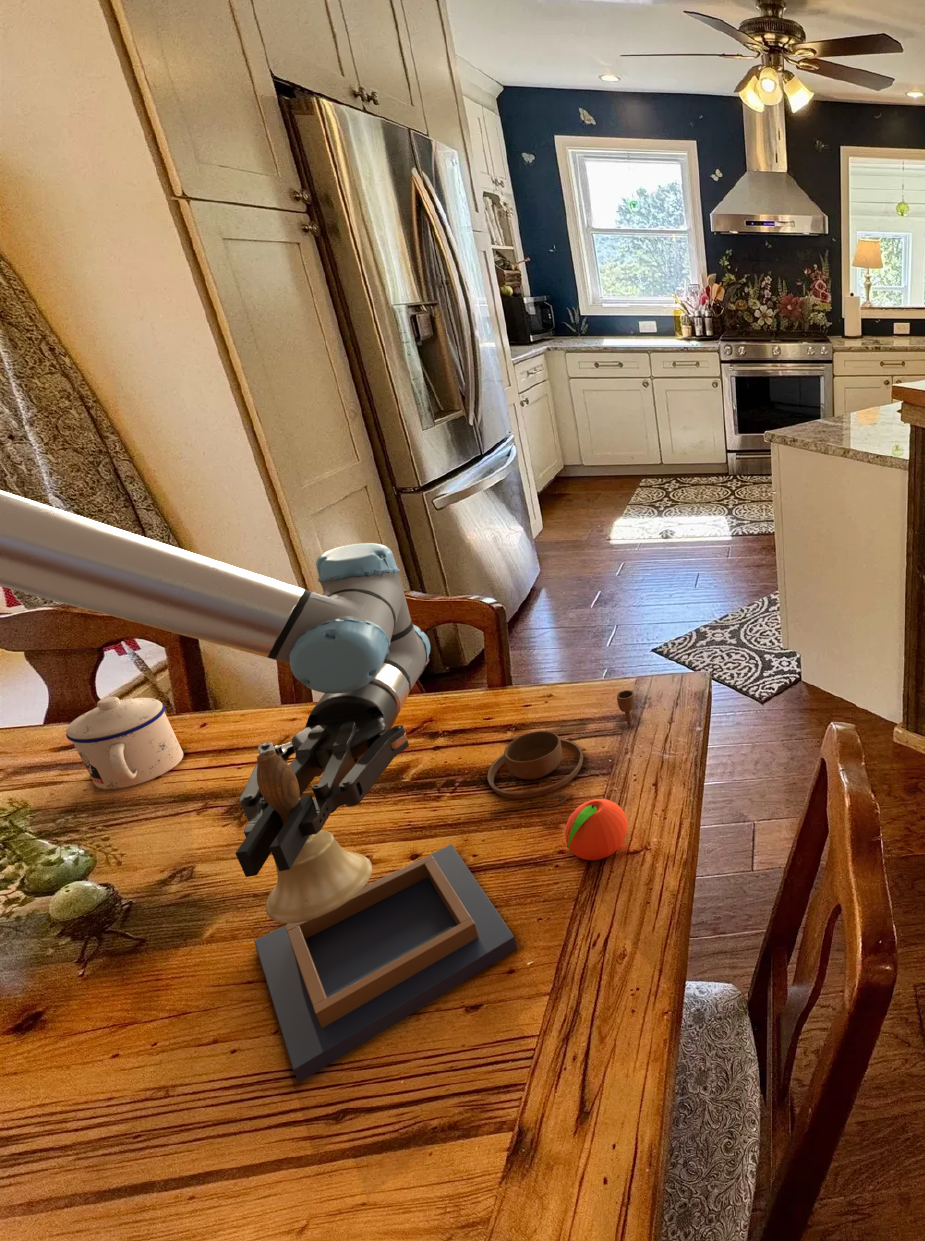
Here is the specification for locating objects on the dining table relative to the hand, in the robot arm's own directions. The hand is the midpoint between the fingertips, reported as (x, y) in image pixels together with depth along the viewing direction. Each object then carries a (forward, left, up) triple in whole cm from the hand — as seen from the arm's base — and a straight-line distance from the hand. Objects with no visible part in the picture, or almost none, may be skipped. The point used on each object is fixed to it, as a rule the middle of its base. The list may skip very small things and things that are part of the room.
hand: (263, 861), depth 60 cm
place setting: (-17, +32, -18) cm, 41 cm away
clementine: (+1, +27, -18) cm, 33 cm away
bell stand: (-1, +6, -18) cm, 19 cm away
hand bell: (-5, +3, -9) cm, 11 cm away
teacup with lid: (-55, -9, -18) cm, 59 cm away
